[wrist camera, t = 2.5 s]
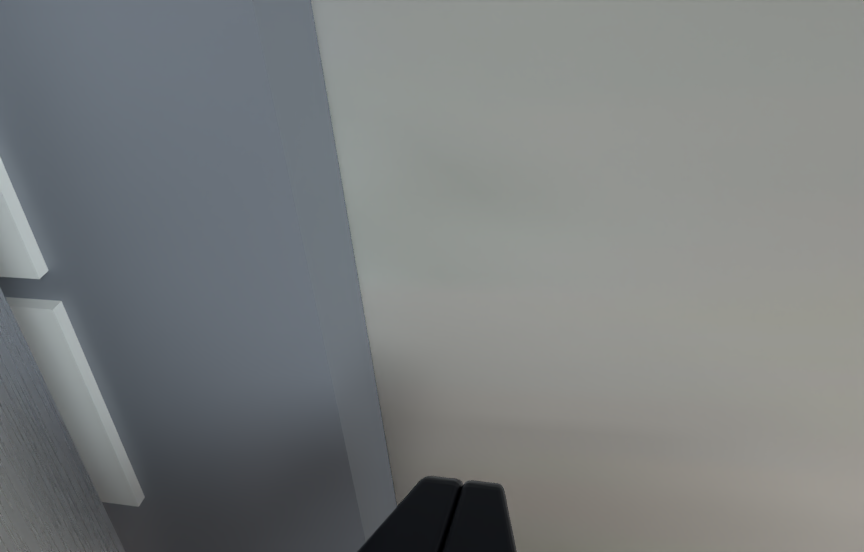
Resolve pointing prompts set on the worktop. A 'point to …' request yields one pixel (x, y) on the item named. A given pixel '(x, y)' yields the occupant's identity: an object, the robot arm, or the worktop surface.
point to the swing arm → (41, 463)
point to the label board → (191, 270)
